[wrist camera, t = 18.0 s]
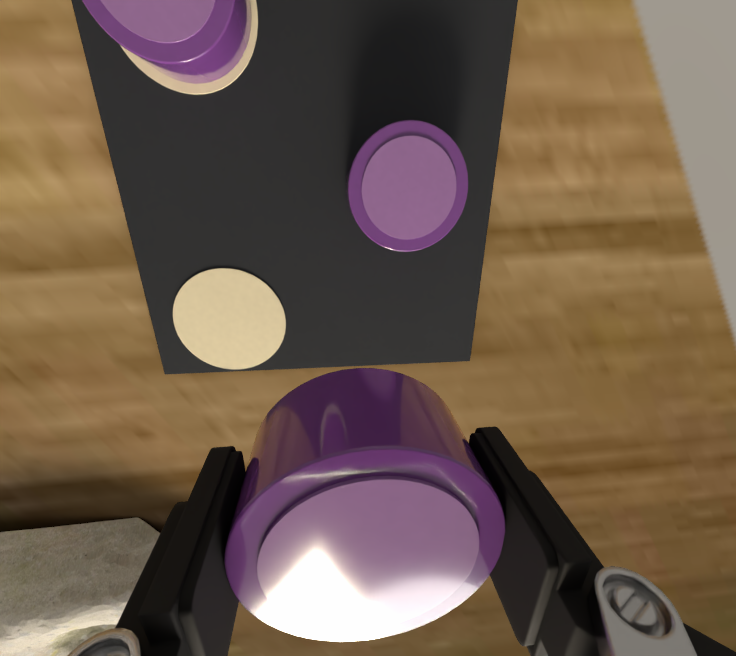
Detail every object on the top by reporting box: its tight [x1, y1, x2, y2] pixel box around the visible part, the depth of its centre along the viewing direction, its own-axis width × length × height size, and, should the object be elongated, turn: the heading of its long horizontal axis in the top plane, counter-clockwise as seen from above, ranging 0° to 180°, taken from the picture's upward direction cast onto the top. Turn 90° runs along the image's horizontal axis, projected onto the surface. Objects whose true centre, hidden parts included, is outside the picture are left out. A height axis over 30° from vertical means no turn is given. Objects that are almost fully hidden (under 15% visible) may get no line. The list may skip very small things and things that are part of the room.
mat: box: [72, 0, 518, 374], centre depth 20 cm, size 22×24×1 cm
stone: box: [0, 517, 160, 656], centre depth 29 cm, size 28×7×15 cm
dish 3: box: [224, 368, 506, 642], centre depth 9 cm, size 6×6×3 cm
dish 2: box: [346, 120, 468, 252], centre depth 19 cm, size 6×6×3 cm
